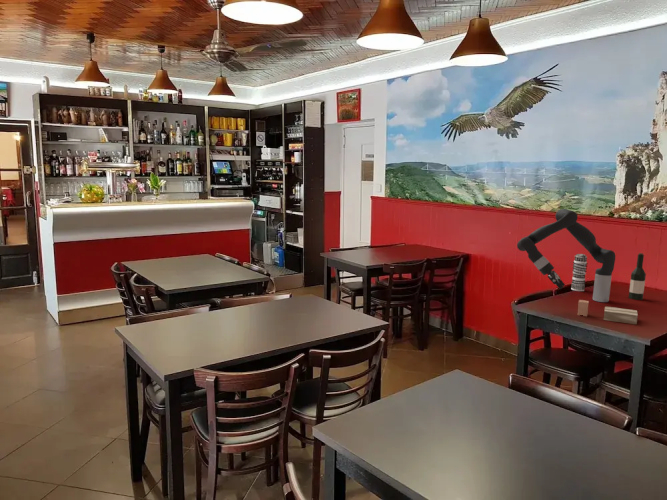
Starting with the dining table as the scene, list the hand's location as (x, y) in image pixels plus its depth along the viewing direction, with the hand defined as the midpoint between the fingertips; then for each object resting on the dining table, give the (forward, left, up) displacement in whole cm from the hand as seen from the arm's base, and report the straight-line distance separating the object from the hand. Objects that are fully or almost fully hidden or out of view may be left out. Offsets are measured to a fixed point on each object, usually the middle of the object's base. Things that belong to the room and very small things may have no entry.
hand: (562, 287), depth 300 cm
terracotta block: (0, +12, -15) cm, 19 cm away
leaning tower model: (-68, +5, -15) cm, 70 cm away
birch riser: (-2, +31, -15) cm, 34 cm away
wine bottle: (-63, +40, -15) cm, 76 cm away
